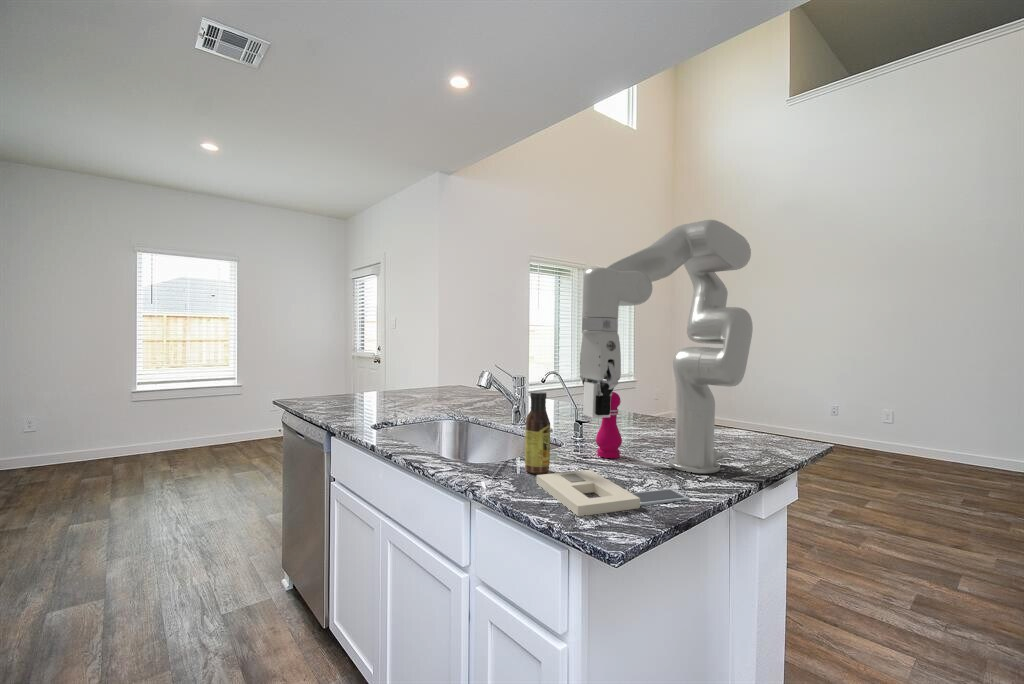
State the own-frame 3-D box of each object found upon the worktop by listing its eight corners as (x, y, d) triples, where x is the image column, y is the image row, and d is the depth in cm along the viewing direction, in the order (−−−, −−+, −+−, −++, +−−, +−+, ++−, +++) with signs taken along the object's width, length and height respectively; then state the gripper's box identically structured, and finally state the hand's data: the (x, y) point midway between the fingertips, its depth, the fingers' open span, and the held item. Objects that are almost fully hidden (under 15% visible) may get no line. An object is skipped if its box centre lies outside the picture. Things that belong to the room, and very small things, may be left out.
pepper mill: (593, 457, 131) (594, 386, 130) (598, 451, 137) (599, 383, 137) (619, 460, 128) (620, 388, 128) (623, 454, 135) (624, 385, 134)
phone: (671, 493, 105) (671, 488, 105) (689, 502, 99) (689, 497, 99) (624, 498, 101) (624, 493, 101) (639, 508, 95) (639, 503, 95)
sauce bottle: (547, 475, 114) (549, 394, 113) (522, 473, 115) (523, 393, 115) (551, 468, 120) (552, 391, 120) (527, 466, 121) (528, 390, 121)
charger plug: (600, 414, 102) (601, 380, 102) (610, 417, 98) (611, 382, 98) (582, 414, 101) (584, 380, 101) (592, 417, 97) (593, 382, 97)
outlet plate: (590, 478, 113) (590, 469, 113) (639, 508, 94) (640, 497, 94) (536, 483, 108) (536, 474, 108) (577, 516, 89) (577, 505, 89)
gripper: (638, 327, 93) (634, 419, 93) (595, 328, 109) (592, 406, 109) (604, 325, 90) (601, 420, 90) (566, 326, 106) (563, 407, 106)
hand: (596, 411), depth 100 cm, fingers closed on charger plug, 4 cm apart
